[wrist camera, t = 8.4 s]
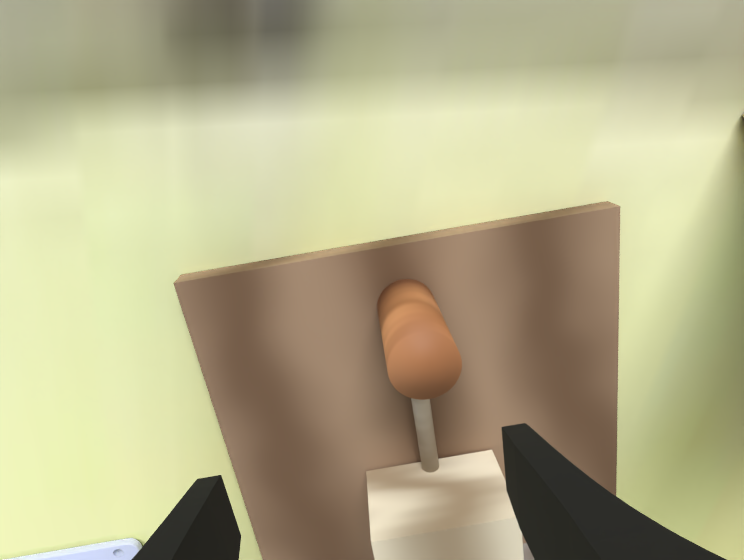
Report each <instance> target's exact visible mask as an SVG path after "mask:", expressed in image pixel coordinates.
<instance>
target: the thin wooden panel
mask: <svg viewBox="0 0 744 560" xmlns="http://www.w3.org/2000/svg"><path fill="white" fill-rule="evenodd" d="M619 247H620V206H618V205H615V204H613V203H610V202H608V201H607V202H601V203H595V204H589V205H584V206H578V207H572V208H566V209H560V210H555V211H549V212H543V213H537V214H531V215H526V216H520V217H514V218H508V219H502V220H496V221H491V222H485V223H479V224H473V225H467V226H462V227H456V228H450V229H444V230H438V231H433V232H427V233H421V234H415V235H409V236H404V237H398V238H392V239H386V240H380V241H375V242H369V243H363V244H357V245H351V246H346V247H340V248H334V249H328V250H322V251H316V252H311V253H305V254H299V255H293V256H287V257H282V258H276V259H270V260H264V261H258V262H253V263H247V264H241V265H235V266H229V267H224V268H218V269H212V270H206V271H200V272H195V273H189V274H183V275H180V277H179V278H178V279H177V280H176V281H175V282H174V286H175V289H176V292H177V295H178V299H179V302H180V305H181V308H182V311H183V314H184V317H185V320H186V323H187V326H188V329H189V333H190V336H191V339H192V342H193V345H194V348H195V351H196V354H197V357H198V360H199V364H200V367H201V370H202V373H203V376H204V379H205V382H206V385H207V388H208V391H209V394H210V398H211V401H212V404H213V407H214V410H215V413H216V416H217V419H218V422H219V425H220V428H221V432H222V435H223V438H224V441H225V444H226V447H227V450H228V453H229V456H230V459H231V462H232V466H233V469H234V472H235V475H236V478H237V481H238V484H239V487H240V490H241V493H242V497H243V500H244V503H245V506H246V509H247V512H248V515H249V518H250V521H251V524H252V527H253V531H254V534H255V537H256V540H257V543H258V546H259V549H260V552H261V555H262V558H263V560H375V559H374V554H373V550H372V545H371V536H370V521H369V506H368V491H367V476H366V471H370V470H376V469H382V468H388V467H393V466H399V465H405V464H411V463H417V462H421V458H420V452H419V445H418V439H417V433H416V426H415V420H414V414H413V407H412V401H411V398H409V397H406V396H405V395H403V394H401V393H400V392H398V391H397V390H396V389H395V388H394V386H393V385H392V383H391V382H390V379H389V376H388V371H387V365H386V359H385V353H384V347H383V341H382V335H381V329H380V323H379V317H378V312H377V303H378V299H379V296H380V294H381V293H382V291H383V290H384V289H385V288H386V287H387V286H388V285H390V284H391V283H393V282H395V281H398V280H402V279H413V280H417V281H419V282H421V283H423V284H424V285H426V286H427V287H428V288H429V289H430V291H431V292H432V294H433V296H434V298H435V301H436V303H437V305H438V307H439V309H440V311H441V314H442V316H443V318H444V320H445V322H446V324H447V327H448V329H449V331H450V333H451V335H452V338H453V340H454V342H455V344H456V346H457V348H458V351H459V353H460V355H461V359H462V370H461V374H460V376H459V379H458V380H457V382H456V383H455V385H454V386H453V387H452V388H451V389H450V390H449V391H447V392H446V393H444V394H443V395H441V396H438V397H436V398H432V399H430V404H431V411H432V418H433V425H434V432H435V439H436V446H437V453H438V459H440V458H446V457H452V456H458V455H463V454H469V453H475V452H481V451H487V450H492V451H493V453H494V455H495V458H496V460H497V462H498V465H499V467H500V469H501V472H502V474H503V476H504V479H505V481H506V478H505V466H504V453H503V441H502V428H501V427H504V426H510V425H516V424H522V423H526V424H527V425H529V426H530V427H531V428H532V429H533V430H534V431H536V432H537V433H538V434H539V435H540V436H541V437H542V438H543V439H545V440H546V441H547V442H548V443H549V444H550V445H551V446H553V447H554V448H555V449H556V450H557V451H558V452H560V453H561V454H562V455H563V456H564V457H565V458H567V459H568V460H569V461H570V462H572V463H573V464H574V465H575V466H577V467H578V468H579V469H580V470H582V471H583V472H584V473H585V474H587V475H588V476H589V477H590V478H592V479H593V480H594V481H596V482H597V483H598V484H600V485H601V486H602V487H604V488H605V489H607V490H608V491H609V492H611V493H612V494H614V495H615V496H616V464H617V392H618V319H619ZM522 541H523V554H524V560H534V557H533V555H532V553H531V551H530V549H529V547H528V545H527V543H526V541H525V539H524V536H523V534H522Z"/></svg>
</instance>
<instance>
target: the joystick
mask: <svg viewBox="0 0 744 560" xmlns="http://www.w3.org/2000/svg"><path fill="white" fill-rule="evenodd" d="M377 312H378V317H379V323H380V329H381V335H382V341H383V347H384V353H385V359H386V365H387V371H388V376H389V379H390V382H391V383H392V385H393V386H394V388H395V389H396V390H397V391H398V392H400V393H401V394H403V395H405V396H406V397H409V398H411V401H412V407H413V414H414V420H415V426H416V433H417V439H418V445H419V452H420V458H421V462H417V463H411V464H405V465H399V466H393V467H388V468H382V469H376V470H370V471H366V476H367V491H368V506H369V521H370V536H371V545H372V550H373V554H374V559H375V560H524V554H523V541H522V532H521V530H520V527H519V525H518V522H517V519H516V516H515V514H514V511H513V508H512V505H511V502H510V499H509V496H508V493H507V490H506V481H505V479H504V476H503V474H502V472H501V469H500V467H499V465H498V462H497V460H496V458H495V455H494V453H493V451H492V450H487V451H481V452H475V453H469V454H463V455H458V456H452V457H446V458H440V459H438V453H437V446H436V439H435V432H434V425H433V418H432V411H431V404H430V399H432V398H436V397H438V396H441V395H443V394H444V393H446V392H447V391H449V390H450V389H451V388H452V387H453V386H454V385H455V383H456V382H457V380H458V379H459V376H460V374H461V370H462V359H461V355H460V353H459V351H458V348H457V346H456V344H455V342H454V340H453V338H452V335H451V333H450V331H449V329H448V327H447V324H446V322H445V320H444V318H443V316H442V314H441V311H440V309H439V307H438V305H437V303H436V301H435V298H434V296H433V294H432V292H431V291H430V289H429V288H428V287H427V286H426V285H424V284H423V283H421V282H419V281H417V280H413V279H402V280H398V281H395V282H393V283H391V284H390V285H388V286H387V287H386V288H385V289H384V290H383V291H382V293H381V294H380V296H379V299H378V303H377Z"/></svg>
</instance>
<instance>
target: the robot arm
mask: <svg viewBox="0 0 744 560" xmlns="http://www.w3.org/2000/svg"><path fill="white" fill-rule="evenodd" d="M501 428H502V441H503V453H504V466H505V478H506V490H507V493H508V496H509V499H510V502H511V505H512V508H513V511H514V514H515V516H516V519H517V522H518V525H519V527H520V530H521V532H522V534H523V536H524V539H525V541H526V543H527V545H528V547H529V549H530V551H531V553H532V555H533V557H534V560H726V559H724V558H722V557H720V556H718V555H716V554H714V553H712V552H710V551H708V550H706V549H704V548H702V547H700V546H698V545H696V544H694V543H692V542H691V541H689V540H687V539H685V538H683V537H681V536H679V535H677V534H676V533H674V532H672V531H670V530H668V529H667V528H665V527H663V526H662V525H660V524H658V523H657V522H655V521H653V520H652V519H650V518H648V517H647V516H645V515H644V514H642V513H640V512H639V511H637V510H635V509H634V508H632V507H631V506H629V505H628V504H626V503H625V502H623V501H622V500H621V499H619V498H618V497H616V496H615V495H614V494H612V493H611V492H609V491H608V490H607V489H605V488H604V487H602V486H601V485H600V484H598V483H597V482H596V481H594V480H593V479H592V478H590V477H589V476H588V475H587V474H585V473H584V472H583V471H582V470H580V469H579V468H578V467H577V466H575V465H574V464H573V463H572V462H570V461H569V460H568V459H567V458H565V457H564V456H563V455H562V454H561V453H560V452H558V451H557V450H556V449H555V448H554V447H553V446H551V445H550V444H549V443H548V442H547V441H546V440H545V439H543V438H542V437H541V436H540V435H539V434H538V433H537V432H536V431H534V430H533V429H532V428H531V427H530V426H529V425H527V424H526V423H522V424H516V425H510V426H504V427H501ZM240 541H241V534H240V531H239V528H238V525H237V522H236V519H235V516H234V513H233V510H232V507H231V504H230V501H229V498H228V495H227V492H226V489H225V486H224V483H223V480H222V477H221V475H218V476H212V477H207V478H201V479H197V480H196V481H195V483H194V484H193V485H192V486H191V487H190V489H189V490H188V491H187V492H186V494H185V495H184V496H183V497H182V499H181V500H180V501H179V502H178V504H177V505H176V506H175V507H174V509H173V510H172V511H171V513H170V514H169V515H168V516H167V518H166V519H165V520H164V521H163V523H162V524H161V525H160V526H159V527H158V529H157V530H156V531H155V532H154V534H153V535H152V536H151V537H150V538H149V540H148V541H147V542H146V543H145V545H144V546H143V547H142V545H141V543H140V542H139V541H138V540H136V539H134V538H126V539H121V540H115V541H109V542H103V543H97V544H91V545H86V546H80V547H74V548H68V549H62V550H56V551H51V552H45V553H39V554H33V555H27V556H21V557H16V558H10V559H4V560H239V551H240ZM119 549H120V550H119Z"/></svg>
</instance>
